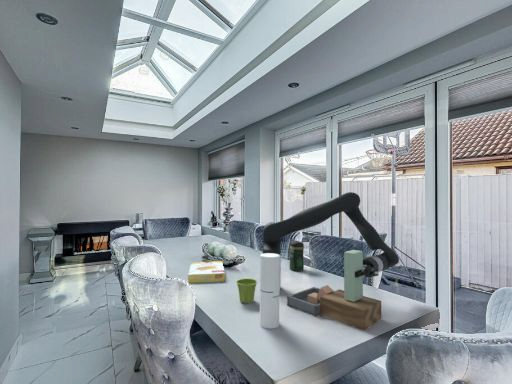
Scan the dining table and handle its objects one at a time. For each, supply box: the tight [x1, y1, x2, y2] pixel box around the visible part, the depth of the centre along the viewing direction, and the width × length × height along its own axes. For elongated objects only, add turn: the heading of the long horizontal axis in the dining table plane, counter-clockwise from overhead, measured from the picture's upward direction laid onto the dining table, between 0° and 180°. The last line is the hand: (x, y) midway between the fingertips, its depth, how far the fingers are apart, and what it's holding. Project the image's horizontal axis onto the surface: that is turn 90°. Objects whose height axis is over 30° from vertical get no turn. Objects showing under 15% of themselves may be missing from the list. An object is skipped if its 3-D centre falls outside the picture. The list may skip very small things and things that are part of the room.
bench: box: [319, 288, 382, 332], centre depth 109 cm, size 14×18×7 cm
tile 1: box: [307, 293, 320, 305], centre depth 120 cm, size 5×5×4 cm
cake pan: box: [200, 254, 212, 262], centre depth 198 cm, size 25×25×4 cm
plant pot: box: [235, 278, 258, 304], centre depth 125 cm, size 9×9×9 cm
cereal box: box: [187, 261, 226, 284], centre depth 166 cm, size 20×6×28 cm
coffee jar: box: [289, 240, 305, 272], centre depth 180 cm, size 10×8×19 cm
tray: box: [286, 286, 321, 317], centre depth 121 cm, size 19×15×4 cm
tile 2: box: [316, 284, 335, 300], centre depth 117 cm, size 5×5×4 cm
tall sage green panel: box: [343, 249, 364, 302], centre depth 108 cm, size 7×4×18 cm, turn 133°
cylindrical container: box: [259, 253, 281, 329], centre depth 102 cm, size 7×7×25 cm
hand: (350, 273), depth 106 cm, fingers closed on tall sage green panel, 4 cm apart
